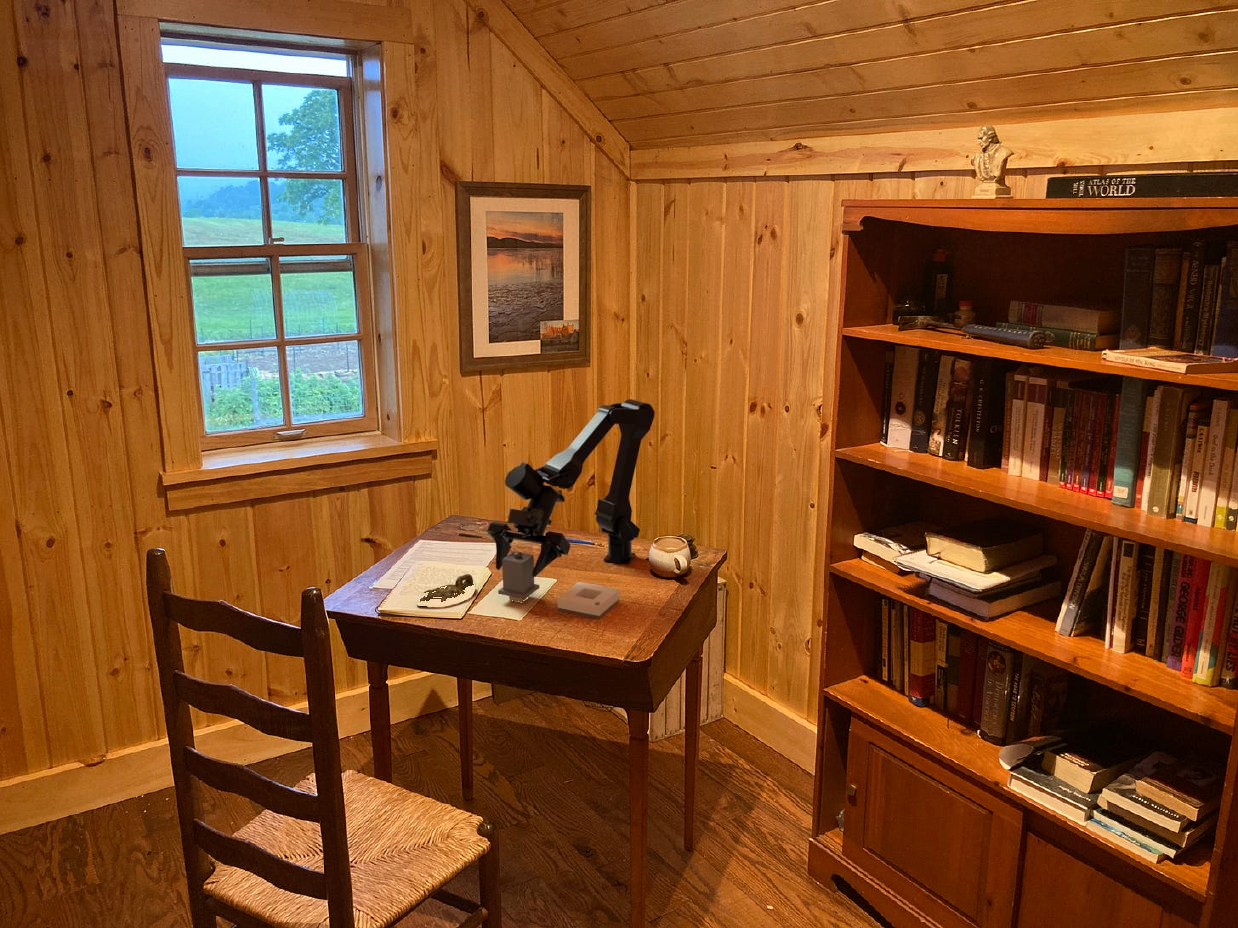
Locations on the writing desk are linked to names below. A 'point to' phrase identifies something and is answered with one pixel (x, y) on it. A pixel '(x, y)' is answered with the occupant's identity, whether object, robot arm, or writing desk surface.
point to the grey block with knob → (518, 576)
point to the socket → (588, 600)
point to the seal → (450, 589)
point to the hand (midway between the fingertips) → (515, 572)
